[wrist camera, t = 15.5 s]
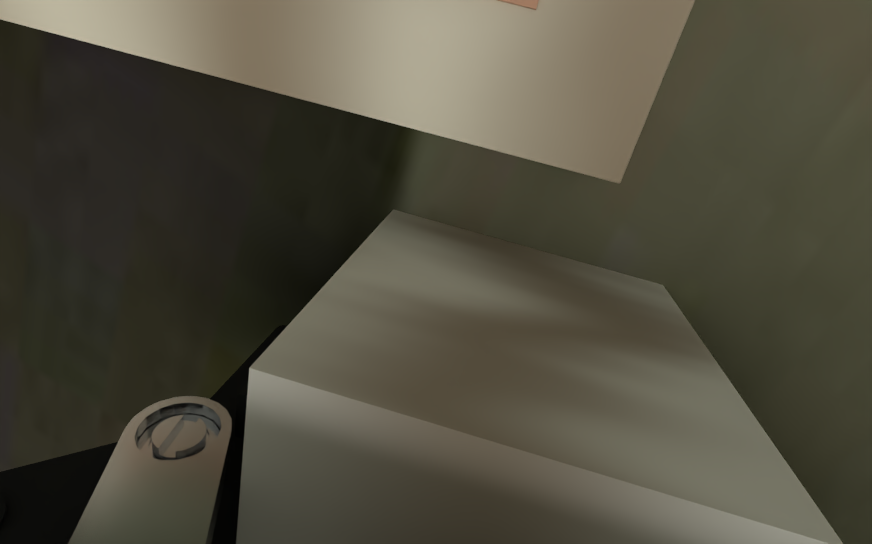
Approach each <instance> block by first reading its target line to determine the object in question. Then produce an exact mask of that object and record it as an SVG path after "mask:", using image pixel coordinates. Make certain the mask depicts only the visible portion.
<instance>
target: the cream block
mask: <svg viewBox="0 0 872 544" xmlns="http://www.w3.org/2000/svg"><path fill="white" fill-rule="evenodd" d="M236 544H843V543H842V541H841V540H840V538H839V537H838V536H837V534H836V533H835V531H834V530H833V528H832V527H831V526H830V524H829V523H828V521H827V520H826V518H825V517H824V515H823V514H822V513H821V511H820V510H819V508H818V507H817V505H816V504H815V503H814V501H813V500H812V498H811V497H810V495H809V494H808V493H807V491H806V490H805V488H804V487H803V485H802V484H801V482H800V481H799V480H798V478H797V477H796V475H795V474H794V472H793V471H792V470H791V468H790V467H789V465H788V464H787V462H786V461H785V459H784V458H783V457H782V455H781V454H780V452H779V451H778V449H777V448H776V447H775V445H774V444H773V442H772V441H771V439H770V438H769V436H768V435H767V434H766V432H765V431H764V429H763V428H762V426H761V425H760V424H759V422H758V421H757V419H756V418H755V416H754V415H753V414H752V412H751V411H750V409H749V408H748V406H747V405H746V403H745V402H744V401H743V399H742V398H741V396H740V395H739V393H738V392H737V391H736V389H735V388H734V386H733V385H732V383H731V382H730V380H729V379H728V378H727V376H726V375H725V373H724V372H723V370H722V369H721V368H720V366H719V365H718V363H717V362H716V360H715V359H714V357H713V356H712V355H711V353H710V352H709V350H708V349H707V347H706V346H705V345H704V343H703V342H702V340H701V339H700V337H699V336H698V334H697V333H696V332H695V330H694V329H693V327H692V326H691V324H690V323H689V322H688V320H687V319H686V317H685V316H684V314H683V313H682V312H681V310H680V309H679V307H678V306H677V304H676V303H675V301H674V300H673V299H672V297H671V296H670V294H669V293H668V291H667V290H666V289H665V287H664V286H663V285H661V284H658V283H654V282H651V281H647V280H644V279H640V278H637V277H633V276H629V275H626V274H622V273H619V272H615V271H612V270H608V269H604V268H601V267H597V266H594V265H590V264H587V263H583V262H579V261H576V260H572V259H569V258H565V257H562V256H558V255H554V254H551V253H547V252H544V251H540V250H537V249H533V248H530V247H526V246H522V245H519V244H515V243H512V242H508V241H505V240H501V239H497V238H494V237H490V236H487V235H483V234H480V233H476V232H472V231H469V230H465V229H462V228H458V227H455V226H451V225H448V224H444V223H440V222H437V221H433V220H430V219H426V218H423V217H419V216H415V215H412V214H408V213H405V212H401V211H398V210H394V209H393V210H392V211H391V212H390V214H389V215H388V216H387V217H386V218H385V219H384V220H383V221H382V222H381V224H380V225H379V226H378V227H377V228H376V229H375V230H374V231H373V232H372V233H371V235H370V236H369V237H368V238H367V239H366V240H365V241H364V242H363V243H362V244H361V246H360V247H359V248H358V249H357V250H356V251H355V252H354V253H353V254H352V255H351V257H350V258H349V259H348V260H347V261H346V262H345V263H344V264H343V265H342V266H341V268H340V269H339V270H338V271H337V272H336V273H335V274H334V275H333V276H332V277H331V279H330V280H329V281H328V282H327V283H326V284H325V285H324V286H323V287H322V288H321V290H320V291H319V292H318V293H317V294H316V295H315V296H314V297H313V298H312V299H311V301H310V302H309V303H308V304H307V305H306V306H305V307H304V308H303V309H302V310H301V312H300V313H299V314H298V315H297V316H296V317H295V318H294V319H293V320H292V321H291V323H290V324H289V325H288V326H287V327H286V328H285V329H284V330H283V331H282V332H281V334H280V335H279V336H278V337H277V338H276V339H275V340H274V341H273V342H272V343H271V345H270V346H269V347H268V348H267V349H266V350H265V351H264V352H263V353H262V354H261V356H260V357H259V358H258V359H257V360H256V361H255V362H254V363H253V364H252V365H251V367H250V368H249V378H248V392H247V405H246V418H245V431H244V445H243V458H242V471H241V484H240V497H239V511H238V524H237V537H236Z"/></svg>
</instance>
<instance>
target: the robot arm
mask: <svg viewBox="0 0 872 544" xmlns="http://www.w3.org/2000/svg"><path fill="white" fill-rule="evenodd" d="M286 327H287V326H284V325H282V326H279V327H278V328H276V329H275V330H274V331H273V332H272V333H271V335H270V336H269V337H268V338H267V339H266V340H265V341H264V342H263V343H262V344H261V345H260V346H259V347H258V348H257V349H256V351H255V352H254V353H253V354H252V355H251V356H250V357H249V358H248V359H247V360H246V361H245V362H244V363H243V364H242V365H241V367H240V368H239V369H238V370H237V371H236V372H235V373H234V374H233V375H232V376H231V377H230V378H229V379H228V380H227V381H226V382H225V384H224V385H223V386H222V387H221V388H220V389H219V390H218V391H217V392H216V393H215V394H214V395H213V396H212V397H211V398H210V399H208V398H203V397H196V396H184V397H174V398H170V399H167V400H163V401H159V402H157V403H155V404H153V405H151V406H149V407H147V408H145V409H144V410H142V411H141V412H140V413H138V414H137V415H136V416H135V417H133V418H132V420H131V421H130V422H129V424H128V425H127V426H126V428H125V429H124V431H123V433H122V435H121V437H120V439H119V441H118V442H116V443H112V444H108V445H104V446H100V447H96V448H92V449H88V450H85V451H81V452H77V453H73V454H69V455H65V456H61V457H57V458H53V459H49V460H45V461H42V462H38V463H34V464H30V465H26V466H22V467H18V468H14V469H10V470H6V471H2V472H0V544H236V537H237V524H238V511H239V497H240V484H241V471H242V458H243V445H244V431H245V418H246V405H247V392H248V378H249V368H250V367H251V365H252V364H253V363H254V362H255V361H256V360H257V359H258V358H259V357H260V356H261V354H262V353H263V352H264V351H265V350H266V349H267V348H268V347H269V346H270V345H271V343H272V342H273V341H274V340H275V339H276V338H277V337H278V336H279V335H280V334H281V332H282V331H283V330H284V329H285V328H286Z"/></svg>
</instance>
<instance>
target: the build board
mask: <svg viewBox="0 0 872 544" xmlns="http://www.w3.org/2000/svg"><path fill="white" fill-rule="evenodd" d="M694 1H695V0H0V19H1V20H5V21H9V22H13V23H16V24H20V25H24V26H28V27H31V28H35V29H39V30H43V31H47V32H50V33H54V34H58V35H62V36H65V37H69V38H73V39H77V40H80V41H84V42H88V43H92V44H96V45H99V46H103V47H107V48H111V49H114V50H118V51H122V52H126V53H129V54H133V55H137V56H141V57H145V58H148V59H152V60H156V61H160V62H163V63H167V64H171V65H175V66H178V67H182V68H186V69H190V70H193V71H197V72H201V73H205V74H209V75H212V76H216V77H220V78H224V79H227V80H231V81H235V82H239V83H242V84H246V85H250V86H254V87H258V88H261V89H265V90H269V91H273V92H276V93H280V94H284V95H288V96H291V97H295V98H299V99H303V100H306V101H310V102H314V103H318V104H322V105H325V106H329V107H333V108H337V109H340V110H344V111H348V112H352V113H355V114H359V115H363V116H367V117H371V118H374V119H378V120H382V121H386V122H389V123H393V124H397V125H401V126H404V127H408V128H412V129H416V130H420V131H423V132H427V133H431V134H435V135H438V136H442V137H446V138H450V139H453V140H457V141H461V142H465V143H468V144H472V145H476V146H480V147H484V148H487V149H491V150H495V151H499V152H502V153H506V154H510V155H514V156H517V157H521V158H525V159H529V160H533V161H536V162H540V163H544V164H548V165H551V166H555V167H559V168H563V169H566V170H570V171H574V172H578V173H581V174H585V175H589V176H593V177H597V178H600V179H604V180H608V181H612V182H615V183H619V184H620V182H621V180H622V177H623V175H624V172H625V170H626V167H627V165H628V162H629V160H630V158H631V155H632V153H633V150H634V148H635V145H636V143H637V140H638V138H639V136H640V133H641V131H642V128H643V126H644V123H645V121H646V118H647V116H648V114H649V111H650V109H651V106H652V104H653V101H654V99H655V96H656V94H657V92H658V89H659V87H660V84H661V82H662V79H663V77H664V75H665V72H666V70H667V67H668V65H669V62H670V60H671V57H672V55H673V53H674V50H675V48H676V45H677V43H678V40H679V38H680V35H681V33H682V31H683V28H684V26H685V23H686V21H687V18H688V16H689V13H690V11H691V9H692V6H693V4H694Z"/></svg>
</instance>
